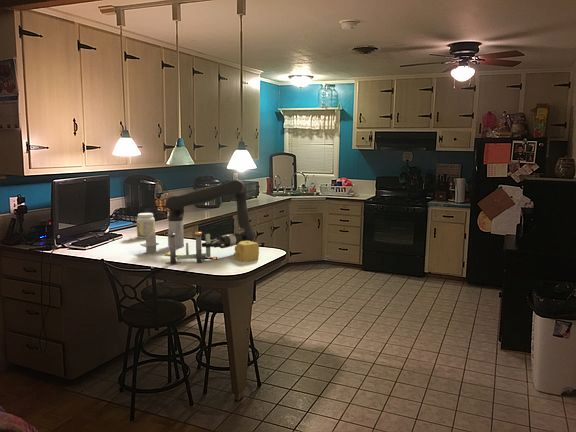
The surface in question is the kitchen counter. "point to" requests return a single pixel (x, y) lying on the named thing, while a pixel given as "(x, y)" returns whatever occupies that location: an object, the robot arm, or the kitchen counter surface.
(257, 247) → the cheese
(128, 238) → the kitchen counter surface
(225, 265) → the kitchen counter surface
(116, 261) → the kitchen counter surface
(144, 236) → the supplement tub
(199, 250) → the latch post
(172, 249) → the hinge post
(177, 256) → the gate
